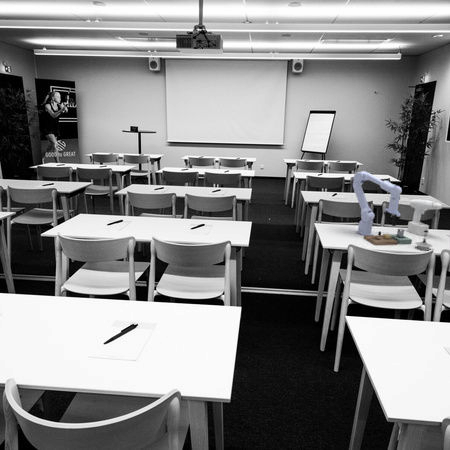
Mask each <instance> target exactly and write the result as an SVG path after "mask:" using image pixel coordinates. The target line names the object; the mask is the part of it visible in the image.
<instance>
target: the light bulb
mask: <svg viewBox="0 0 450 450" xmlns="http://www.w3.org/2000/svg"><path fill="white" fill-rule="evenodd" d="M424 232H426V233H427V234H428V233H429V230H428V231H427V230H425V231H424ZM426 236H427V235H426V234H425V236H423V237H424V238H422V241H415V243H414V244H415V245H416V246H417V249H418V248H419V249H418V250H422V251H429V250H428V249H430V248H431V247H433V244H430V243H428V242H427V238H426Z"/></svg>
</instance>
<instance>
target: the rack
mask: <svg viewBox="0 0 450 450" xmlns="http://www.w3.org/2000/svg"><path fill="white" fill-rule="evenodd" d="M389 234H390V235H392V237H390V238H392V239H393V240H395V241H397V242H398V243H397V245H412V242H413V239H412V238H410V237H408V236H406V235H405V234H404V235H403V238H398V237H397V233H396V234H395V233H393V234H392V233H389Z"/></svg>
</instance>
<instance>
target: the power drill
mask: <svg viewBox="0 0 450 450" xmlns="http://www.w3.org/2000/svg"><path fill="white" fill-rule="evenodd" d="M409 205H410V207H411V208H413V209H414V213H413V217H412V221H408V224H407V232H408V233H411V234H414V235H417V236H420V235H421V237H422V236H423V237H426V236H427V235H428V233H426V232H424V231H425V230H427V231H428V232H429V227H430V225H428V224H425V223H423V222H421V218H422V215H425V212H426V211H428V210H442V209H443V207H444V206H443V204H442V203H440V202H436V201H432V200H427V199H418V198H417V199H414V198H413V199H411V200H410V201H409ZM425 234H426V235H425Z"/></svg>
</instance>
